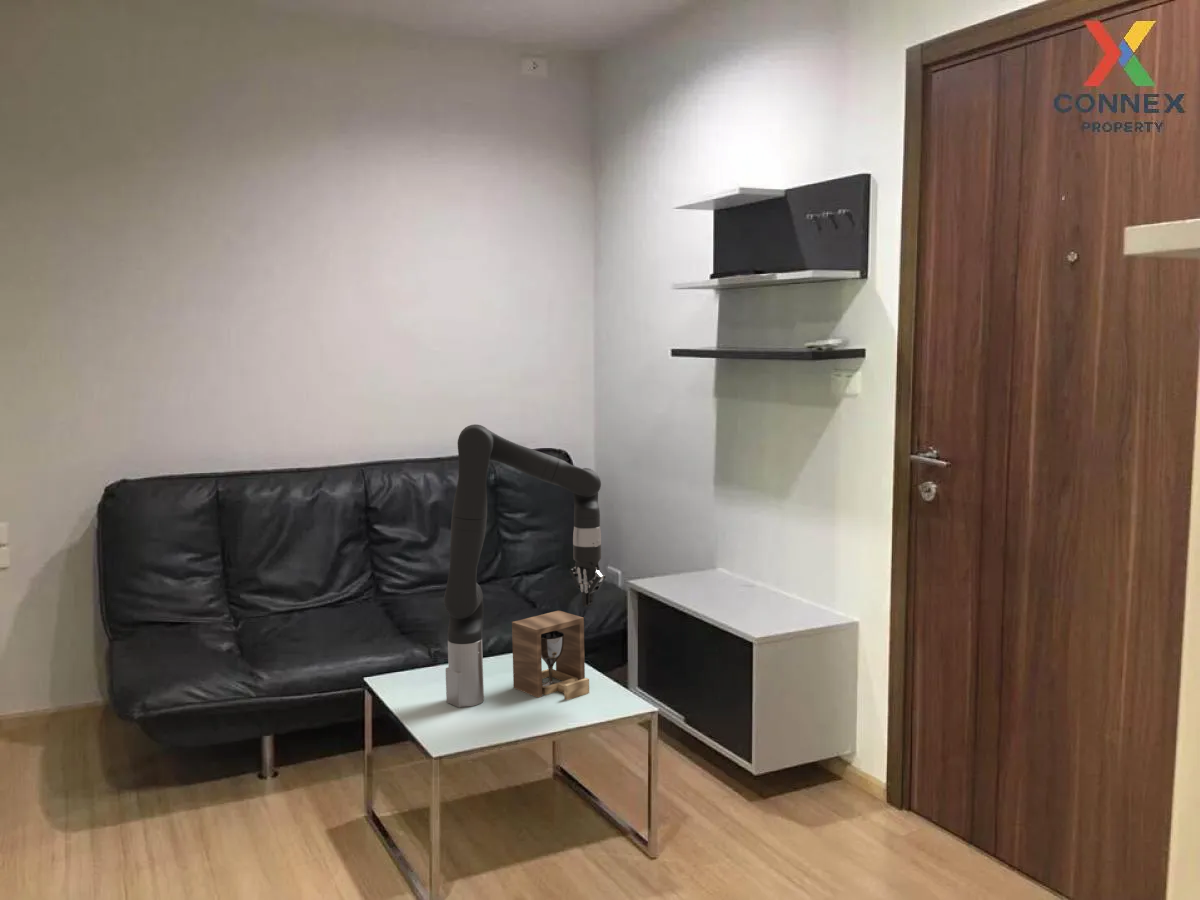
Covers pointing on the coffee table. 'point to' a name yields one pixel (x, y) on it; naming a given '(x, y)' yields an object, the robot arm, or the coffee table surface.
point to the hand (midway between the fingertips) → (587, 605)
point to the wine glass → (551, 650)
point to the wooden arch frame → (529, 649)
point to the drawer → (566, 685)
